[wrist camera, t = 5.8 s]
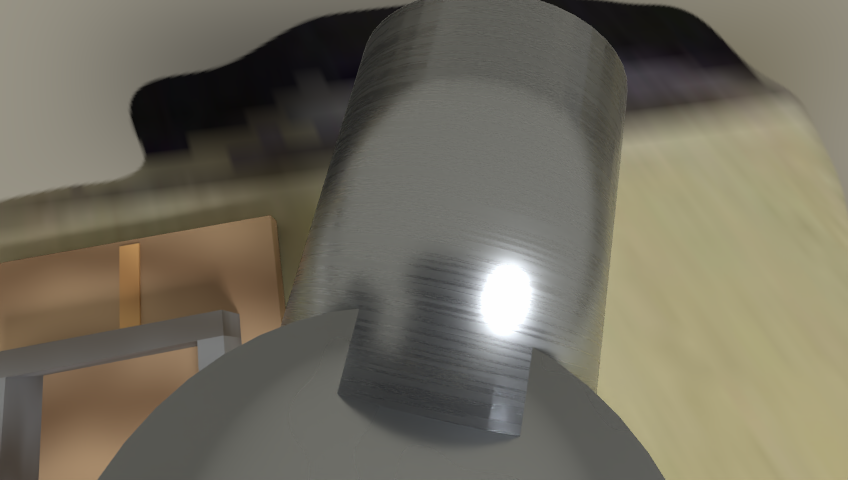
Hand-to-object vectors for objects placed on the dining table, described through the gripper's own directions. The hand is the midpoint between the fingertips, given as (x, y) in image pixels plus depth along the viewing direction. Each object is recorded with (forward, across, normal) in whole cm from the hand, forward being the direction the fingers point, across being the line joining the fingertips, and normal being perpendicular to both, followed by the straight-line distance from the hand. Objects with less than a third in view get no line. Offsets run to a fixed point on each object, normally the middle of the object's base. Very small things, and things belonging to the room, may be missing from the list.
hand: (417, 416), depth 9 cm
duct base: (+6, +13, +13) cm, 19 cm away
